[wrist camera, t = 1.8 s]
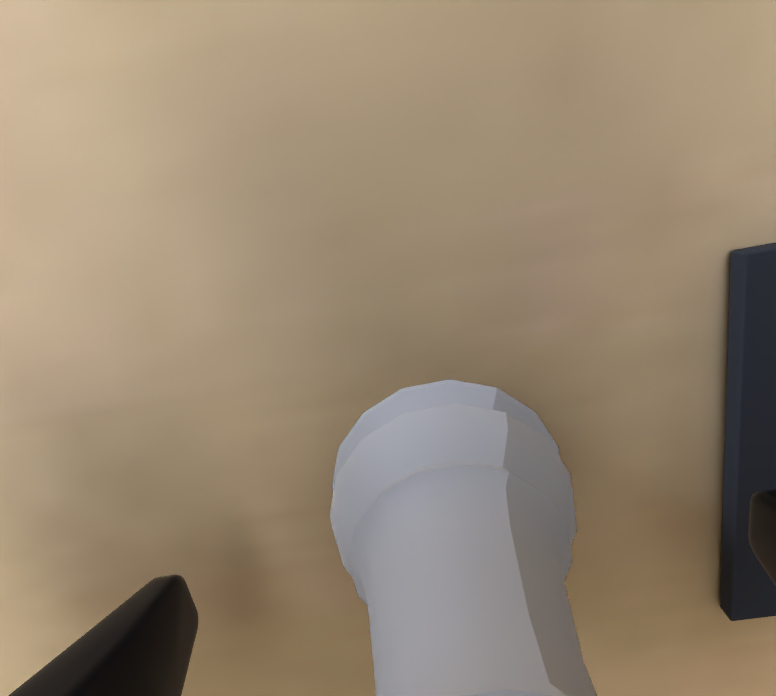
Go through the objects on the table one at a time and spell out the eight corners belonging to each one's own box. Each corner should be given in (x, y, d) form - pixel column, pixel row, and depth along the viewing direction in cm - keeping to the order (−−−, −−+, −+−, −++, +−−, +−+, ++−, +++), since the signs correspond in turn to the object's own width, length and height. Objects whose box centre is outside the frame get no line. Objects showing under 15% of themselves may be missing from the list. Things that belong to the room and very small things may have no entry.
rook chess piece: (382, 335, 9) (298, 1164, 1) (596, 417, 9) (1444, 1393, 2) (305, 522, 10) (47, 1470, 3) (496, 586, 11) (737, 1554, 3)
